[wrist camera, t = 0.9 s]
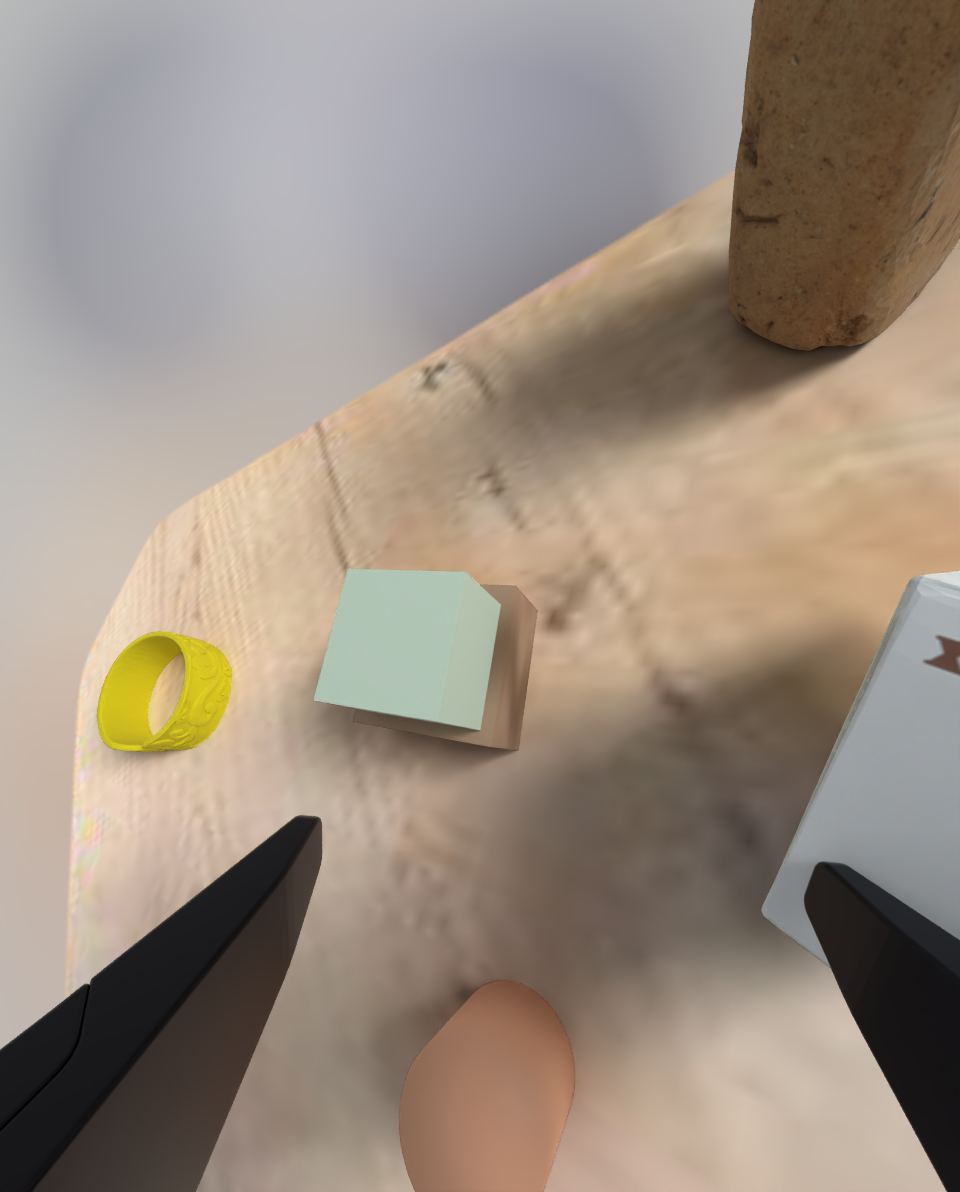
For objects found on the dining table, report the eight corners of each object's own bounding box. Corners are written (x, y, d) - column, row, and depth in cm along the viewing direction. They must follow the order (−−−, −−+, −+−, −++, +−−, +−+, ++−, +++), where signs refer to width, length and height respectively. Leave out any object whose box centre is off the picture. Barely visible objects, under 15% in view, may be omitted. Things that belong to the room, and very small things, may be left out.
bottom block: (519, 750, 23) (491, 747, 19) (397, 728, 26) (352, 721, 22) (538, 611, 25) (515, 585, 21) (423, 605, 27) (385, 581, 24)
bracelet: (157, 651, 35) (110, 640, 32) (241, 633, 32) (198, 619, 29) (137, 756, 32) (83, 755, 29) (226, 745, 29) (178, 743, 26)
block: (837, 387, 22) (1397, -949, 5) (704, 333, 26) (757, -549, 9) (1003, 219, 22) (2211, -1825, 5) (844, 187, 26) (1192, -1028, 8)
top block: (480, 730, 20) (437, 721, 16) (371, 711, 22) (313, 700, 18) (500, 604, 21) (465, 571, 18) (397, 599, 23) (347, 568, 20)
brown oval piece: (567, 1171, 17) (534, 1291, 13) (444, 1105, 19) (384, 1192, 15) (582, 1007, 18) (556, 1071, 15) (466, 961, 20) (416, 1007, 17)
